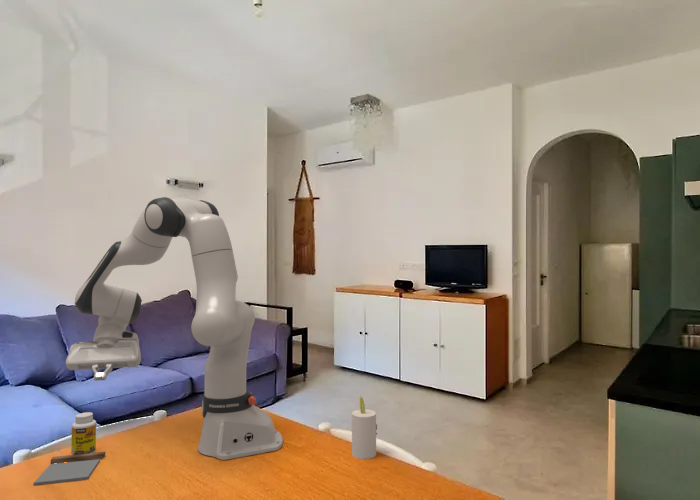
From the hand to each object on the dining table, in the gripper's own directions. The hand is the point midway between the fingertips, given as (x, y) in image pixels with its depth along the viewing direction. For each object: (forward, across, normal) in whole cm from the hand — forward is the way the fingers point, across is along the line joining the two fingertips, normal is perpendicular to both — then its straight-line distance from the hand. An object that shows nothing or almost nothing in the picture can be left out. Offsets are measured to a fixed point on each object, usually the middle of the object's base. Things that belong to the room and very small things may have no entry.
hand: (99, 379), depth 134 cm
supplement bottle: (+22, 0, +1) cm, 22 cm away
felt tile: (+30, 0, -7) cm, 30 cm away
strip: (+24, 0, -2) cm, 24 cm away
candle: (+35, +71, -13) cm, 80 cm away
